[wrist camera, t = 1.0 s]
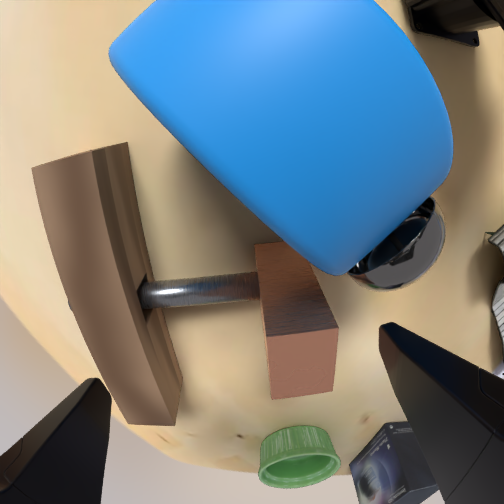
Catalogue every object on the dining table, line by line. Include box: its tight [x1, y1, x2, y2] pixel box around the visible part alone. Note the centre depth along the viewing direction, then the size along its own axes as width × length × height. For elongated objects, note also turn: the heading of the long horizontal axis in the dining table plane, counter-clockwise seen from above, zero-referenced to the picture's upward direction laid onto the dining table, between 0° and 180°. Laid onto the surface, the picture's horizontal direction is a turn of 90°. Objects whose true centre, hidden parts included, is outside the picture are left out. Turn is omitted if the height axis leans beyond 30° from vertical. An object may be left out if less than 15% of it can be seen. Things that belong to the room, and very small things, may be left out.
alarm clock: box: [109, 0, 453, 292], centre depth 12 cm, size 13×6×15 cm
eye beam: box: [32, 142, 183, 426], centre depth 20 cm, size 4×20×6 cm, turn 5°
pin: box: [68, 241, 339, 400], centre depth 18 cm, size 16×4×10 cm, turn 95°
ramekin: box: [258, 426, 341, 488], centre depth 30 cm, size 9×9×4 cm
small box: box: [349, 422, 439, 504], centre depth 29 cm, size 11×6×10 cm, turn 167°
